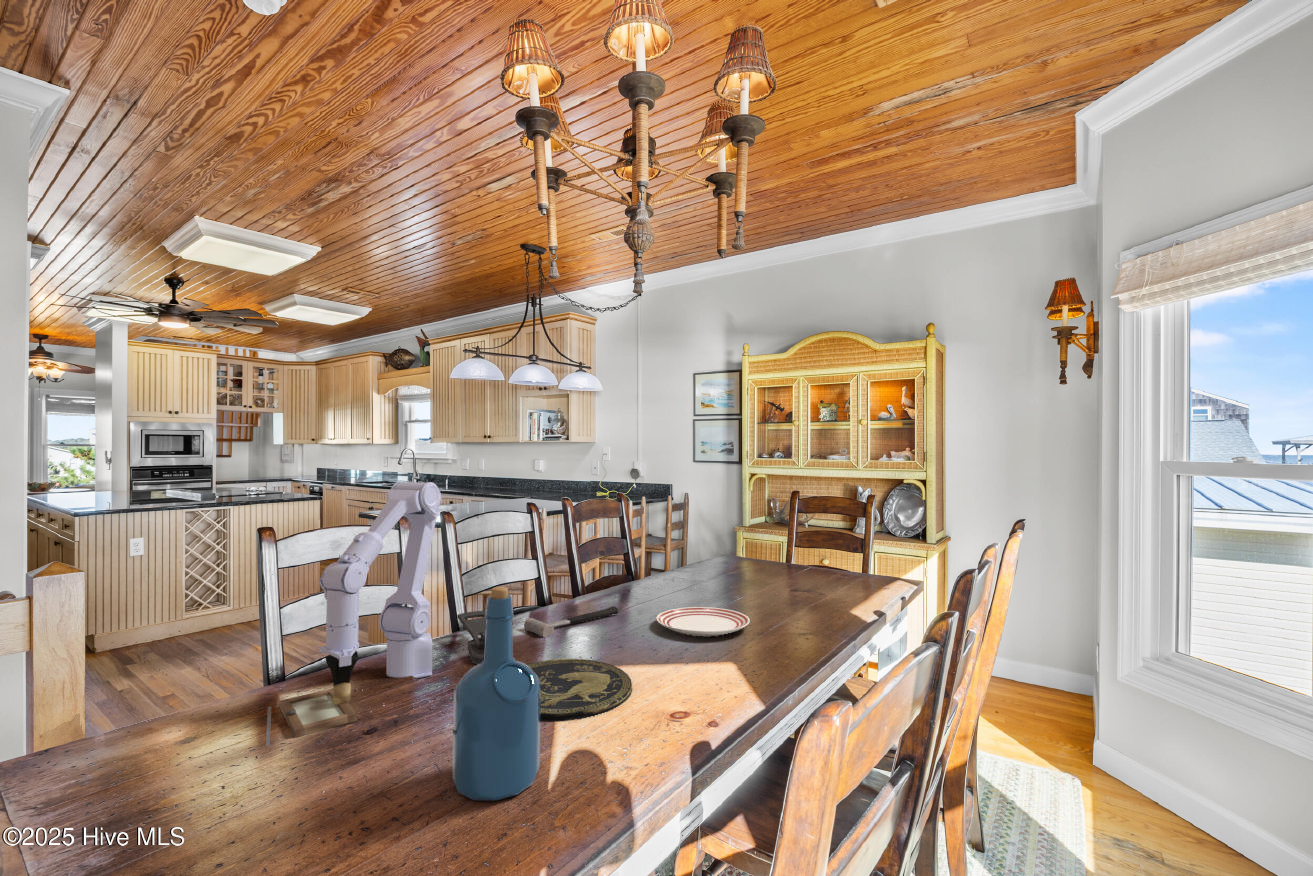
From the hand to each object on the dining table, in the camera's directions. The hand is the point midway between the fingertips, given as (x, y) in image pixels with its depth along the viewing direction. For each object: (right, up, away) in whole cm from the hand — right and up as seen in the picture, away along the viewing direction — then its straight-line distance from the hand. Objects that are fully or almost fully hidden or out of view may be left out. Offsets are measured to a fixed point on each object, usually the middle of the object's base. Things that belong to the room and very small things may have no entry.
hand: (341, 691), depth 117 cm
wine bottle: (+38, -3, -25) cm, 46 cm away
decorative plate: (+43, -4, +10) cm, 44 cm away
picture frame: (-2, -2, -5) cm, 5 cm away
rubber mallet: (+39, -6, +58) cm, 70 cm away
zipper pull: (+18, -4, +35) cm, 40 cm away
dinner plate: (+77, -6, +55) cm, 95 cm away
